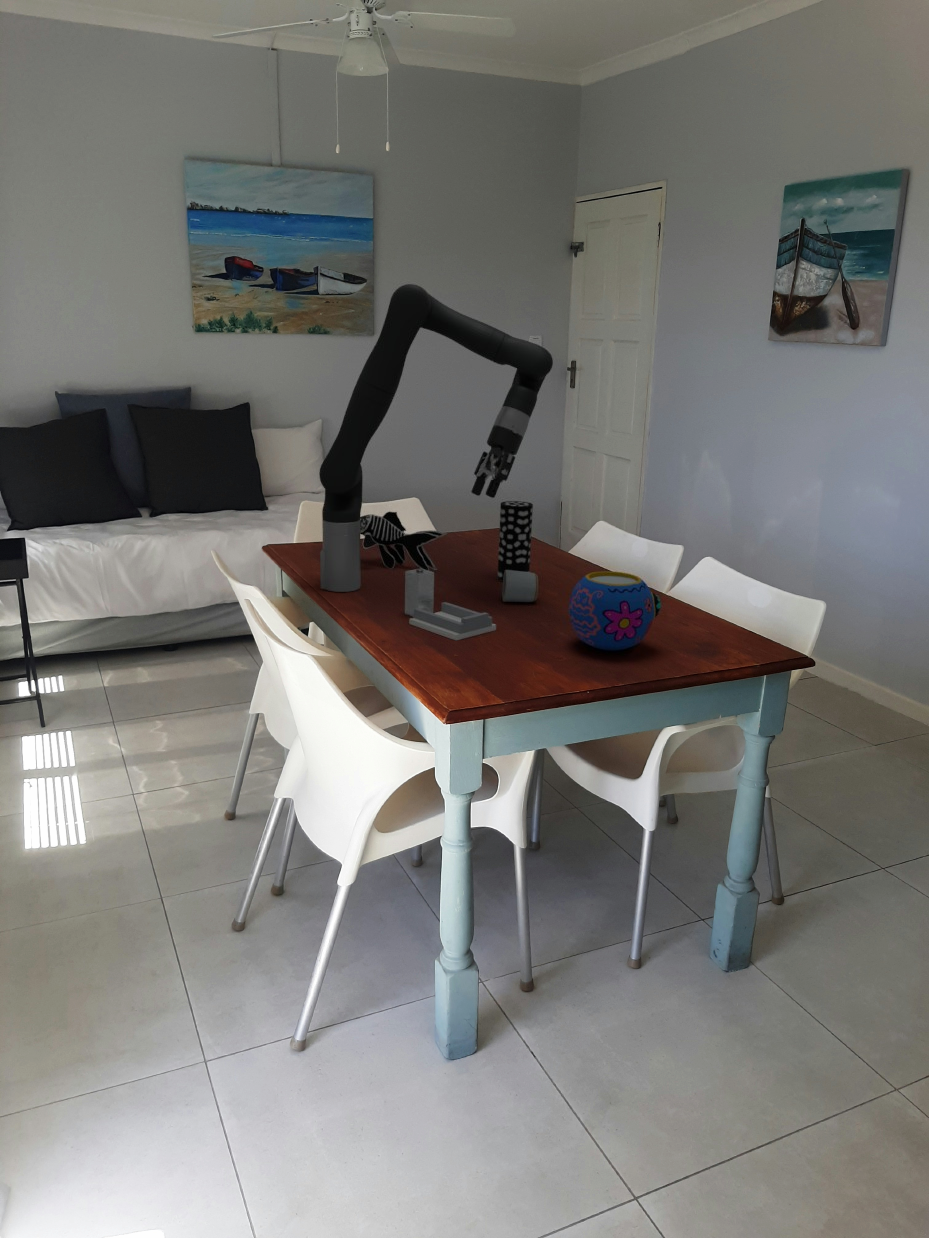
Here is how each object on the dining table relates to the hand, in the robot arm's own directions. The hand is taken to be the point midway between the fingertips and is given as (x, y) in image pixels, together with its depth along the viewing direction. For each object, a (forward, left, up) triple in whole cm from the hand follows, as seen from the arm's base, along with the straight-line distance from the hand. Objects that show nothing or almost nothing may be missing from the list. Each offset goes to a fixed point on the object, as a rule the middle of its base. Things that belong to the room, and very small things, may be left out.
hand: (482, 495), depth 225 cm
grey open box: (-3, -21, -26) cm, 34 cm away
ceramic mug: (+9, +5, -26) cm, 28 cm away
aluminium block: (-12, -13, -26) cm, 31 cm away
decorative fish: (-26, +30, -26) cm, 47 cm away
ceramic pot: (+31, -27, -26) cm, 49 cm away
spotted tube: (+6, +25, -26) cm, 36 cm away
